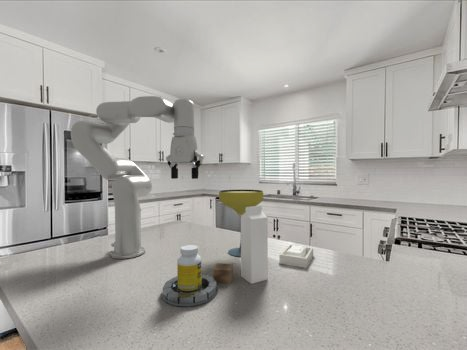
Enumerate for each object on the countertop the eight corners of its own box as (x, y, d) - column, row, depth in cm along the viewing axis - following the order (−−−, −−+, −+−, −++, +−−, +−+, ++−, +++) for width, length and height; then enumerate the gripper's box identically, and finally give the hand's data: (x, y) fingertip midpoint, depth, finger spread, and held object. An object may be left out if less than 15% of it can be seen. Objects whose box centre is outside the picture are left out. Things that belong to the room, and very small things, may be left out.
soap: (292, 252, 96) (292, 244, 96) (306, 254, 93) (306, 246, 93) (285, 259, 88) (285, 251, 88) (300, 261, 85) (300, 253, 85)
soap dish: (279, 263, 86) (279, 254, 86) (289, 252, 98) (289, 244, 98) (306, 267, 82) (306, 258, 82) (313, 255, 93) (313, 247, 93)
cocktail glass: (238, 264, 85) (238, 193, 85) (210, 251, 100) (210, 190, 99) (273, 253, 97) (272, 191, 97) (243, 243, 111) (243, 188, 111)
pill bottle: (196, 297, 62) (196, 251, 62) (173, 294, 63) (172, 250, 63) (204, 285, 68) (204, 244, 68) (183, 283, 69) (183, 243, 69)
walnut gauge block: (213, 283, 71) (213, 269, 71) (217, 275, 76) (217, 263, 76) (230, 284, 70) (230, 270, 70) (232, 276, 75) (232, 264, 75)
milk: (268, 279, 73) (268, 206, 73) (251, 284, 70) (251, 208, 70) (256, 272, 78) (256, 204, 78) (240, 276, 75) (240, 205, 75)
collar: (150, 298, 62) (150, 290, 62) (186, 276, 75) (186, 270, 75) (196, 313, 55) (196, 304, 55) (227, 286, 68) (227, 279, 68)
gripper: (159, 133, 92) (160, 178, 92) (196, 129, 84) (197, 178, 84) (173, 136, 98) (173, 178, 99) (208, 132, 90) (209, 178, 91)
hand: (184, 178), depth 91 cm, fingers open, 9 cm apart
